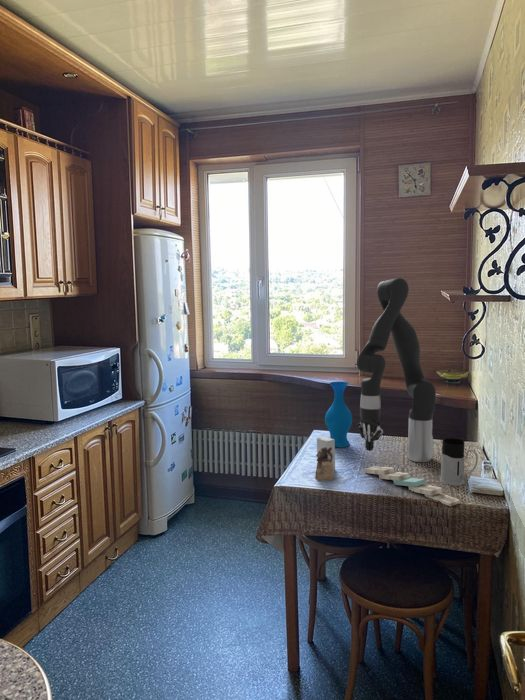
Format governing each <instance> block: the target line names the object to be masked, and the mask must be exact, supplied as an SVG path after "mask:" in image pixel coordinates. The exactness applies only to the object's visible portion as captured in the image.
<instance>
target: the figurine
mask: <svg viewBox="0 0 525 700" xmlns="http://www.w3.org/2000/svg"><path fill="white" fill-rule="evenodd" d="M331 450H332V448H331V447H330V448H329V449H328V450H327V448H326V447H325V446H324V447H322V448H321V449H320V450H319V451H318V454H317V453H316V455H315V456H316V457H317V458H316V462H317V461H318V462H317V464H316V467H315V468H316V469H315V475H314V477H315V480H317V481H319V482H330V481H333V480H334V478H335V469H334V468H333V463H332V458H333V455H332V453H331V452H330V451H331ZM328 455H329V456H330V457H331V459H330V458H329V457H328Z"/></svg>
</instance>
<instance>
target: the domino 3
mask: <svg viewBox="0 0 525 700" xmlns="http://www.w3.org/2000/svg"><path fill="white" fill-rule="evenodd" d="M392 481H393V485H394V484H395V485H394V486H404V487H409V486H412V487H417V486H420V485H423V484H426V479H425V478H416V477H409V478H407V479H404V480H401V481H399V480H392Z"/></svg>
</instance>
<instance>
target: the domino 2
mask: <svg viewBox="0 0 525 700" xmlns="http://www.w3.org/2000/svg"><path fill="white" fill-rule="evenodd" d="M378 478H379V480H380V479H381V480H389V481H390V480H391V481H393V480H399V481H401V480H404V479H407V478H410V472H400V471H394V472H393V473H390V474H387V475H381V474H378Z"/></svg>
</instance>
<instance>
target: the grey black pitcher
mask: <svg viewBox="0 0 525 700" xmlns="http://www.w3.org/2000/svg"><path fill="white" fill-rule="evenodd" d="M469 452H473V454H475V464H474V465H473V467H472V469H471V470H470V471H468V472H466V473H464V471H465V460H467V459H468V454H469ZM440 460H441V462H440V463H441V465H440V476H439V482H440V483H442V482H443V483H442V484H444V483H445V484H444V485H448V484H449V485H448V486H454V487H455V486H462V485H464V484H465V483H466V482H465V479H464V478H465V476H467V475H470V474H471V473H472V472H474V471H475V469H476V467H477V465H478V463H479V462H478V461H479V455H478V453H477V452H476V450H474V449H468V450H467V451H466V453H465V441H464V440H462V439H460V438H453V437H446V438H443V439H442V447H441V459H440Z"/></svg>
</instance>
